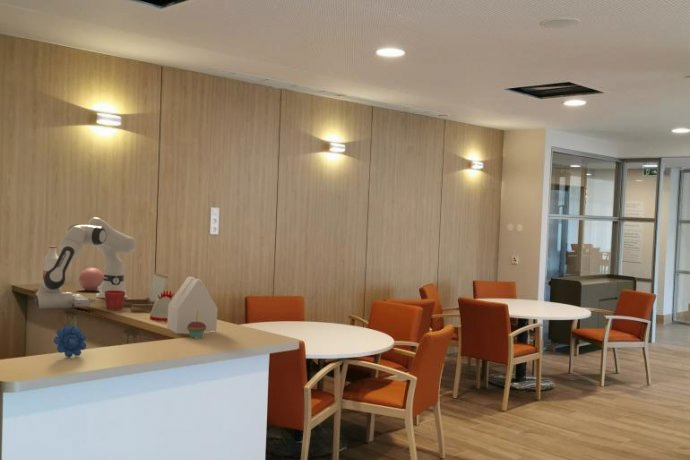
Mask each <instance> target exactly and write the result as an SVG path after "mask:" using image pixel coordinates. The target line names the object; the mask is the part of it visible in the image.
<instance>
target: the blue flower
mask: <svg viewBox="0 0 690 460" xmlns="http://www.w3.org/2000/svg"><path fill="white" fill-rule="evenodd" d="M56 335H57V336H55V337H54V338H53V343H54V344H55V345H57V347H56V350H57V352H58V353H59V354H60V353H61V354H63V353H64V356H66V357H67V358H70V357H73V355H74V356H77V357H78V356H81V354H82V351H84V350H86V348H87V344H86V342H85V341H86V340H87V336H86V334H85V333H81V329H80V327H79V326H74V327H72V326H71V325H70V324H65V325H64V327H63V328H58V329H57V330H56Z"/></svg>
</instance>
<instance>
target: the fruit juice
mask: <svg viewBox="0 0 690 460" xmlns="http://www.w3.org/2000/svg"><path fill="white" fill-rule="evenodd" d="M57 249H58V247H57V246H56V245H48V251H47V254H46V255H45V257H44V259H43V262H44V266H43V268H42V269H43V270H42V271H43V272H42V280H43V279H44V277H45V274H46V273H47V272H48V271H49V270H51V269H52V268H53V267H54V265H55V263H56V261H57V259H58V257H59V255H58V253H57Z"/></svg>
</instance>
